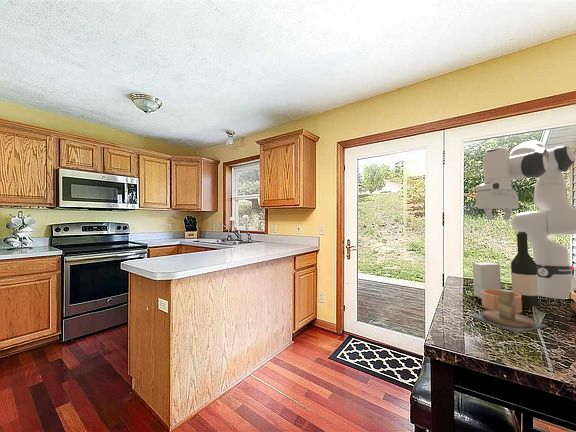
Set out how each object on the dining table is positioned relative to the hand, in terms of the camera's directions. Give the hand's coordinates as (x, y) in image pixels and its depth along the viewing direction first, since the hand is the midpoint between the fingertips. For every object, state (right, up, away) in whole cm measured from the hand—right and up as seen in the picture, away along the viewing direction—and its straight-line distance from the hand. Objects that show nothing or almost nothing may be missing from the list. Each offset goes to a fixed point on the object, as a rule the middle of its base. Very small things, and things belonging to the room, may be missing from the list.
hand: (498, 219), depth 104 cm
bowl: (-3, -35, -4) cm, 35 cm away
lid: (-12, -34, -18) cm, 40 cm away
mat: (-12, -35, -18) cm, 41 cm away
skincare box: (+3, -36, +10) cm, 37 cm away
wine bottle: (+12, -35, +1) cm, 37 cm away
